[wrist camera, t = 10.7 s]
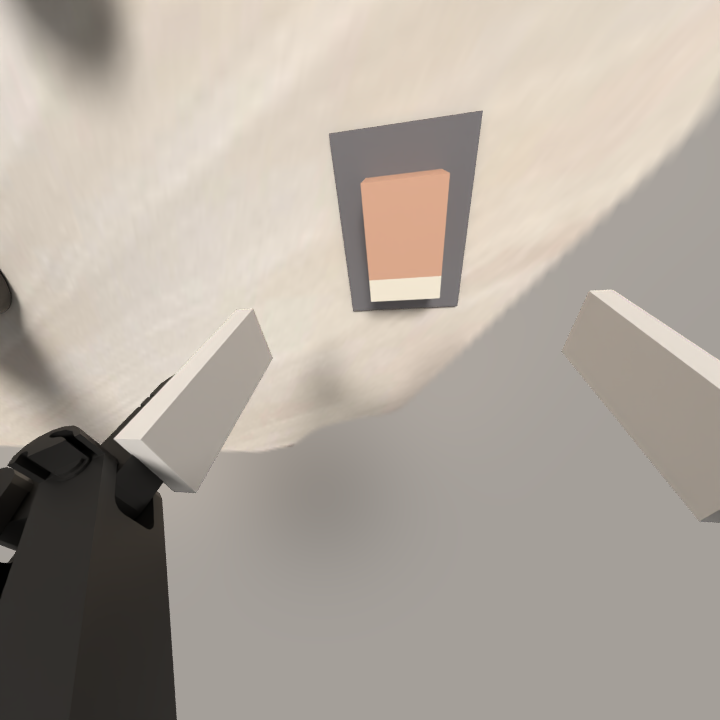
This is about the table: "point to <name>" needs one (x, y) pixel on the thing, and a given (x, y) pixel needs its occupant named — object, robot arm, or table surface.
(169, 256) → the table surface
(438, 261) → the flat block
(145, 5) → the table surface
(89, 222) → the table surface
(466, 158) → the mat
